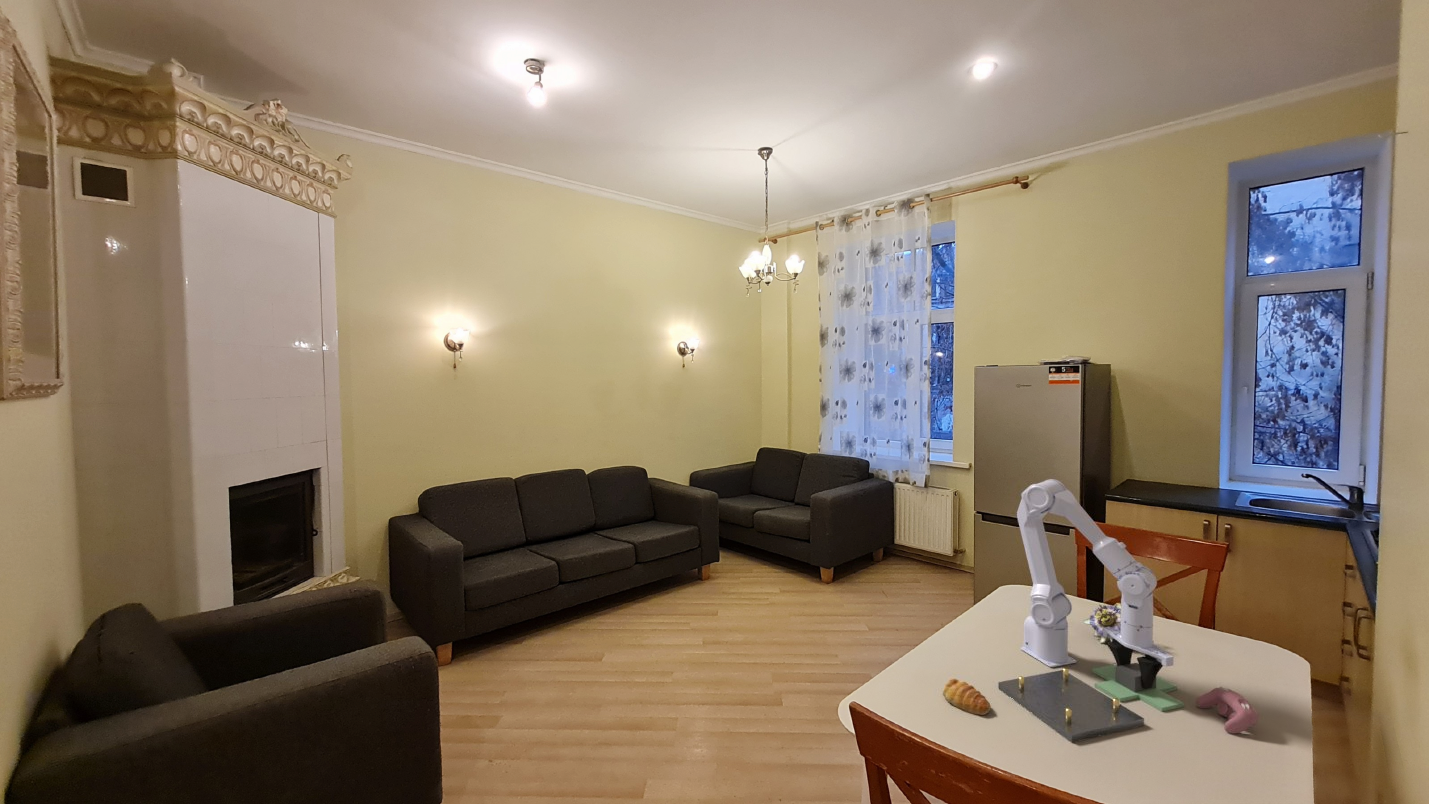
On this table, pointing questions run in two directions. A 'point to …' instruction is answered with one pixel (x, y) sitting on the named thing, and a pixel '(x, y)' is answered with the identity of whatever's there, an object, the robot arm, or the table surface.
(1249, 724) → the video game controller
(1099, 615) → the passion flower
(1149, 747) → the table surface
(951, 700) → the pastry
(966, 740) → the table surface
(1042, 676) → the chassis
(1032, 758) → the table surface
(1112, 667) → the board
